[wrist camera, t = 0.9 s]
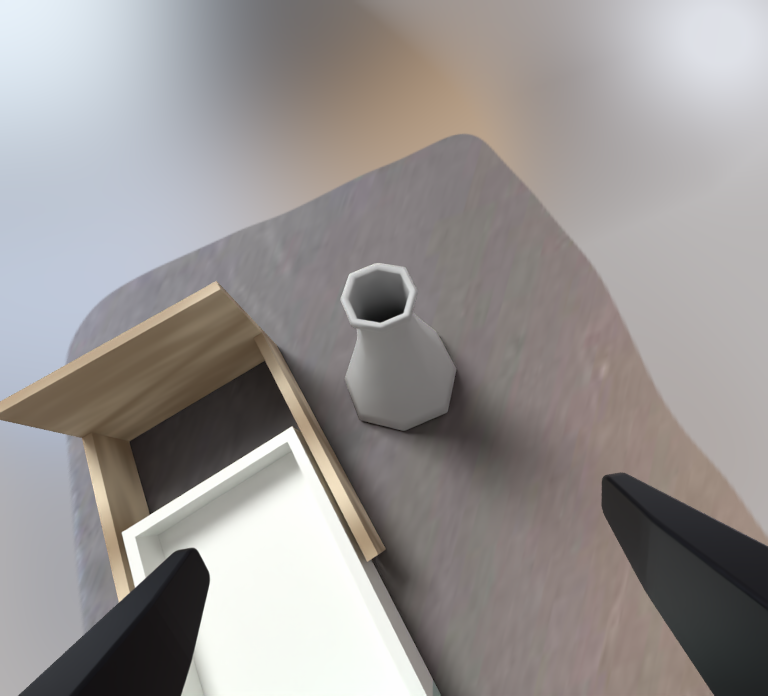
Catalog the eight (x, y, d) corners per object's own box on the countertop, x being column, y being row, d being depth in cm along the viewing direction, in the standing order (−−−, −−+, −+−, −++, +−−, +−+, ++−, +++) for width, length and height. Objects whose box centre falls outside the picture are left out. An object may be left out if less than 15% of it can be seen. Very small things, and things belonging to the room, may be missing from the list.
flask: (346, 436, 23) (288, 386, 14) (344, 332, 26) (296, 236, 17) (464, 426, 23) (482, 367, 14) (449, 321, 26) (455, 214, 17)
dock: (385, 549, 20) (358, 567, 13) (185, 686, 19) (32, 791, 12) (276, 345, 26) (216, 280, 19) (118, 438, 25) (-10, 407, 18)
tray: (445, 703, 17) (448, 769, 13) (249, 851, 16) (177, 981, 12) (308, 436, 23) (276, 416, 19) (157, 530, 22) (85, 534, 18)
